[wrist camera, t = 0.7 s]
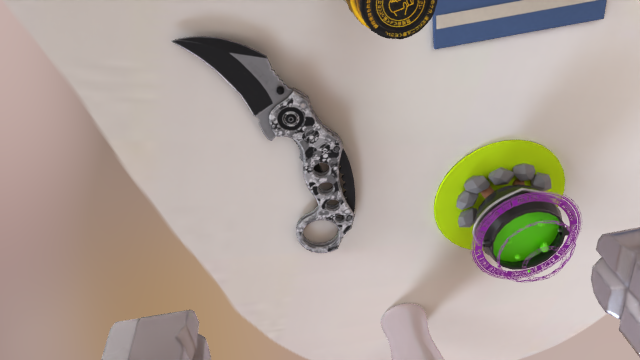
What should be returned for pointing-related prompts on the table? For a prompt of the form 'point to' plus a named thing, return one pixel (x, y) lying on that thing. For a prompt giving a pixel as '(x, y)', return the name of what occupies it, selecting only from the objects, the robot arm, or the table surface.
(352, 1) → the condiment
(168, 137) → the table surface
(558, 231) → the toy cauldron
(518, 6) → the blue board
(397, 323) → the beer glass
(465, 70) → the table surface
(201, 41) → the knife
